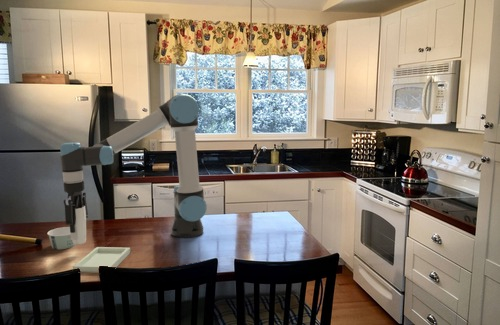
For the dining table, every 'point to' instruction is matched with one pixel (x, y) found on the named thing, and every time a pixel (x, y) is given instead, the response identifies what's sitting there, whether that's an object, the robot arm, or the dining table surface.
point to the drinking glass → (80, 225)
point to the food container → (60, 238)
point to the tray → (102, 258)
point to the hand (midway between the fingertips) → (78, 236)
